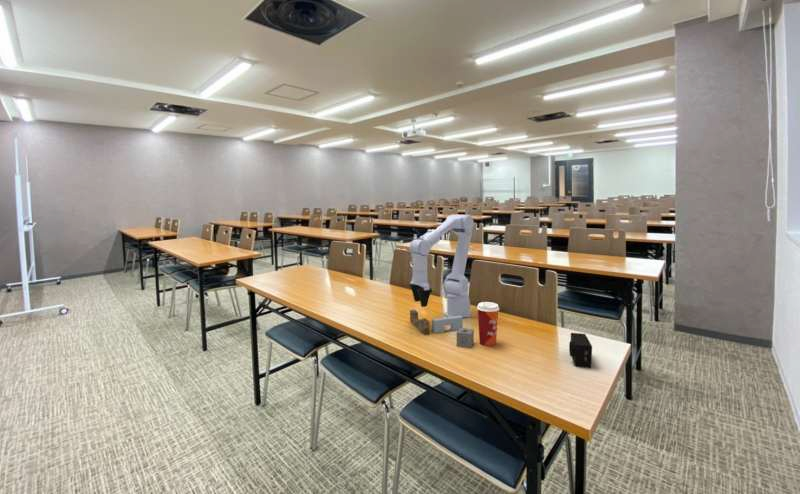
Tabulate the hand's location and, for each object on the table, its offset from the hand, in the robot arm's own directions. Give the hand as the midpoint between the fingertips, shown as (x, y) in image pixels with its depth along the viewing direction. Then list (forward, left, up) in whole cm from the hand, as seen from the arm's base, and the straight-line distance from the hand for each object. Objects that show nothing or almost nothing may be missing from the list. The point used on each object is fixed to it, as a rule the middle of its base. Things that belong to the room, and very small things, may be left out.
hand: (420, 303), depth 144 cm
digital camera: (-35, +45, -10) cm, 58 cm away
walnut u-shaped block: (+1, 0, -10) cm, 10 cm away
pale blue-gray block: (-8, +7, -10) cm, 15 cm away
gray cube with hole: (-8, +22, -10) cm, 25 cm away
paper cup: (-16, +23, -10) cm, 30 cm away
